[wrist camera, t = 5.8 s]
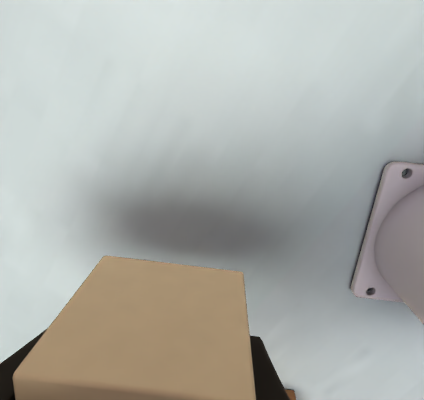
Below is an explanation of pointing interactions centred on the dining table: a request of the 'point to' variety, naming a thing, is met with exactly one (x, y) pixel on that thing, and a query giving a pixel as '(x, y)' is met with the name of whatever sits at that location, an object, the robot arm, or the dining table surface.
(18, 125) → the dining table surface
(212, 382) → the cube
